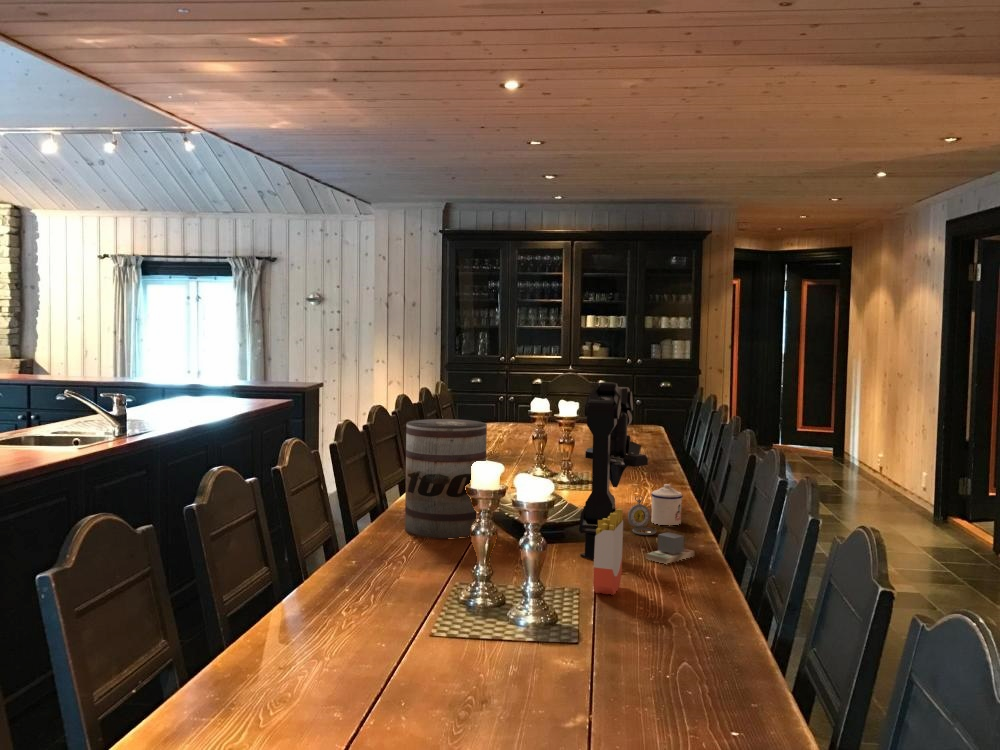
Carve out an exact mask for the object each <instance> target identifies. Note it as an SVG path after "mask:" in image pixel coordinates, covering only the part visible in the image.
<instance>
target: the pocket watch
mask: <svg viewBox="0 0 1000 750" xmlns="http://www.w3.org/2000/svg"><path fill="white" fill-rule="evenodd" d="M638 497H640V498H642V499H640V498H638ZM637 498H638V499H637ZM634 500H635V501H636V502H637V504H635V505H633V506H631V507H630V509H629V511H628V512H627V514H628V515H627V519H628V522H629V524H630V525H631V526H633V528H632V532H633V533H634V534H636V535H639V536H640V535H641V536H653V535H655V534H656V533H657V529H655V528H652V527H644V526H646V525H647V524H648V522H649V520H650V518H651V517H650V515H651V513H650V510H649V508H648V507H647V506H646V505H644V504H641V503H642V501H644V497H643V496H642V495H636V496H635V497H634ZM639 530H645V531H651V533H644V532H637V531H639Z"/></svg>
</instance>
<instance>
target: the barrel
mask: <svg viewBox="0 0 1000 750" xmlns="http://www.w3.org/2000/svg"><path fill="white" fill-rule="evenodd" d="M487 432H488V425H487V423H486V422H484V421H483V422H482V421H478V420H470V419H458V418H457V419H454V418H436V419H435V418H431V419H429V418H428V419H426V418H425V419H416V420H409V421H407V422H406V433H405V434H406V436H405V439H406V440H405V441H406V442H405V444H406V445H405V446H406V447H405V448H406V449H405V502H404V506H405V508H404V509H405V511H404V513H405V514H404V522H405V523H404V531H405V532H406V533H407V534H408V533H409V534H408V535H410V534H411V535H410V536H413V535H414V537H417V536H419V537H418V538H421V537H424V538H423V539H428V538H430V539H429V540H449V539H448V538H459V537H468V536H469V537H470V528H471V525H472V523H473V522H474V521H475V519H476V511H475V510H474V508H473V506H472V502H471V499H470V497H469V496H468V495H467V493H466V490H465V486H466V485H467V484H469V483H470V480H471V466H472V464H473V463H474V462H476V461H486V462H487V443H488V442H487V441H488V438H487V437H488V436H487V435H488V433H487ZM470 538H471V537H470Z"/></svg>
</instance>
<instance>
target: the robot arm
mask: <svg viewBox="0 0 1000 750" xmlns="http://www.w3.org/2000/svg"><path fill="white" fill-rule="evenodd" d="M630 390H631V389H630V388H629V387H628V386H627V387H626V386H618V383H615V382H611V381H609V382H607V381H604V382H602V381H601V382H597V384H596V387H595V389H594V390H592V391H591V392H590V393H589V394H588V395H587V398H586V402H585V405H584V417H585V418H586V425H587V427H588V429H589V431H590V433H591V435H592V447H588V448H587V449H586V450H585V453H584V454H585V456H584V457H585V459H589V460H591V461H592V462H591V463H592V464H591V467H592V471H591V472H592V473H591V493H590V495H589V496H588V498H587V499H586V500H585V505H584V506H583V508H582V510H581V511H580V516H579V524H578V525H579V526H578V529H579V530H578V532H580V534H584V552H582V553H580V554H579V556H580V557H583V558H586V559H590V560H593V561H594V550H595V536H596V529H597V528H598V520H602V519H603V518H608V516H610V513H613V512H615V509H618V507H617V508H616V498H615V496H614V495H613V494H612V493H611V491H610V484H611V486H612V488H618V487H619V483H620V481H621V478H622V476H623V474H624V472H625V469H626V468H628V467H632V468H634V467H635V468H637V467H643V466H648V465H649V462H648V461H649V458H648V457H647V454H642V453H641V452H640V451H641V449H642V444H639V443H637V442H634V441H631V436H630V435H628V427H629V425H631V424H632V420H633V414H632V413H631V411H634V401H633V391H630Z"/></svg>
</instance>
